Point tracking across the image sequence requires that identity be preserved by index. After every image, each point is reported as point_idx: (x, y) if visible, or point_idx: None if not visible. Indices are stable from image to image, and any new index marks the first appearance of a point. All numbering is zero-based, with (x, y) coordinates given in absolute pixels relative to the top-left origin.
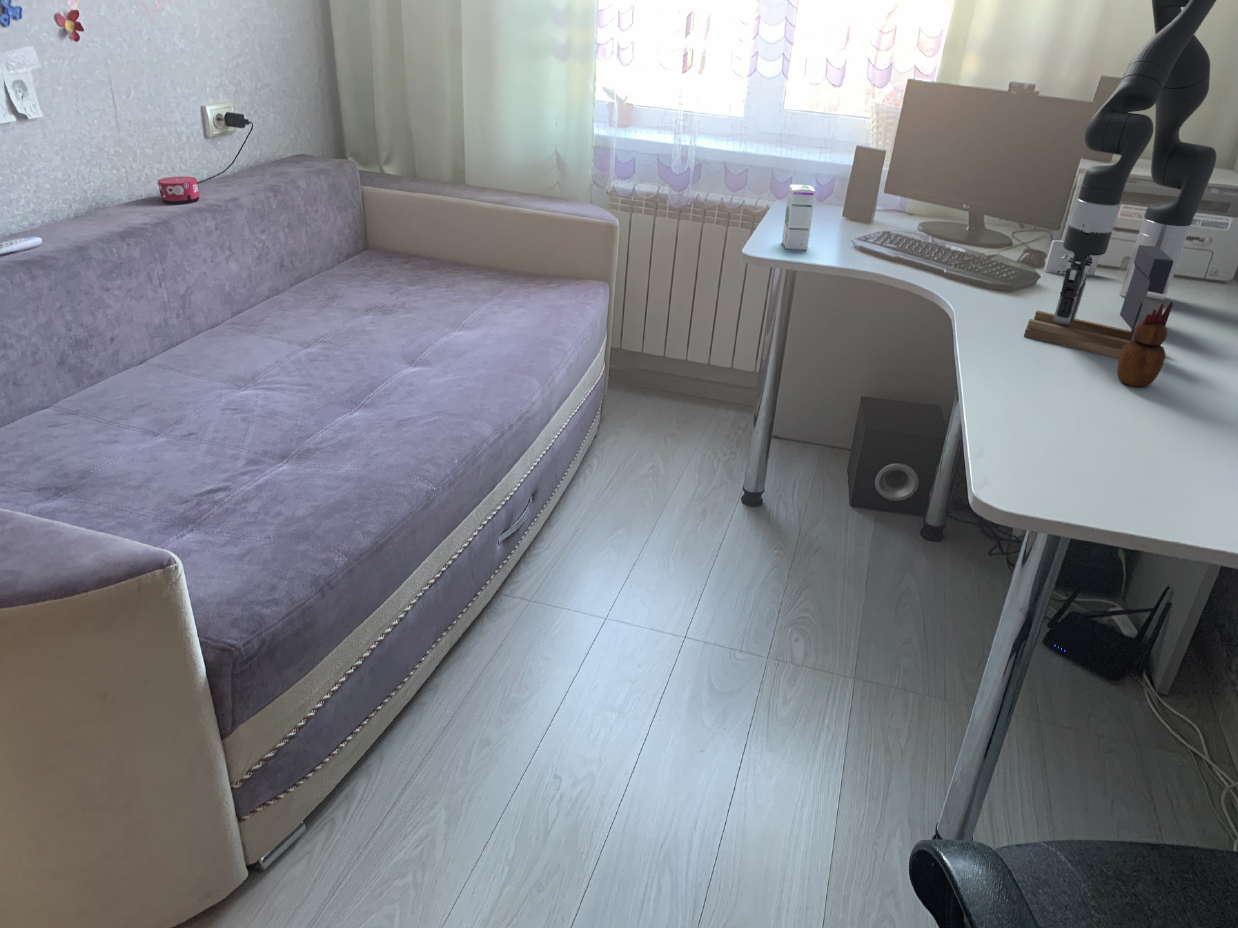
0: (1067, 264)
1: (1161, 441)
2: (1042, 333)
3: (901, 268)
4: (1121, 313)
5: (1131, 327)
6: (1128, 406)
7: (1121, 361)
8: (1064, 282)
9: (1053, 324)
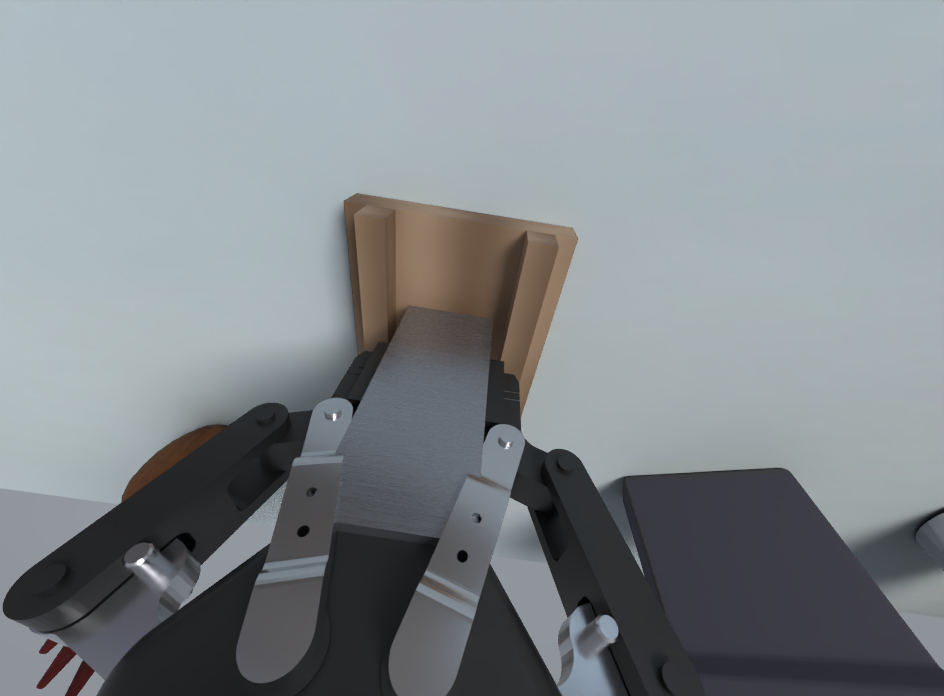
0: (243, 625)
1: (10, 446)
2: (351, 269)
3: None
4: (776, 475)
5: (649, 477)
6: (97, 423)
7: (153, 458)
8: (150, 487)
9: (383, 315)
